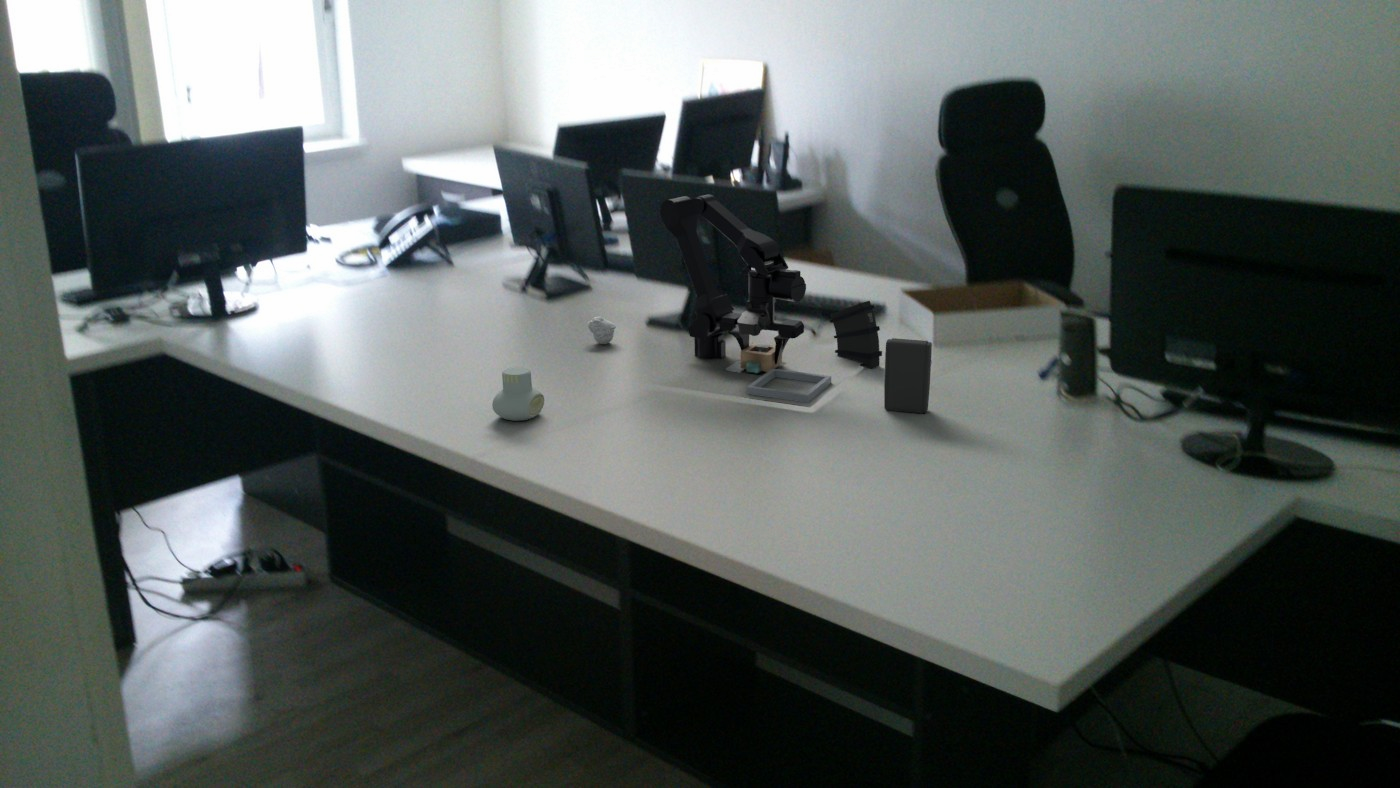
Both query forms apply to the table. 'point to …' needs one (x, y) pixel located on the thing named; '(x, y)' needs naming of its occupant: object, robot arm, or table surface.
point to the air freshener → (518, 396)
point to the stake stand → (737, 368)
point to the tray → (795, 396)
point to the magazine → (857, 334)
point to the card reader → (907, 375)
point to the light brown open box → (758, 359)
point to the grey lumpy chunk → (601, 329)
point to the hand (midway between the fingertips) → (761, 361)
